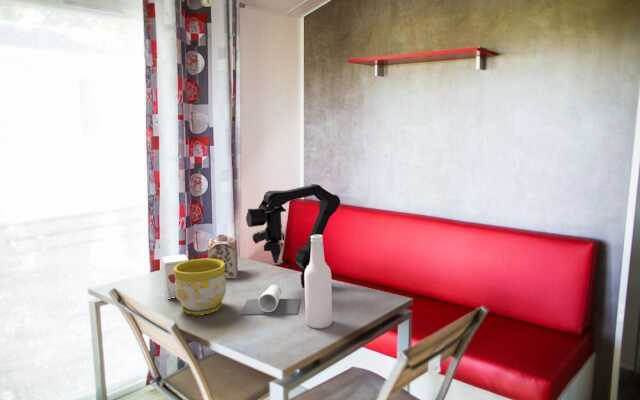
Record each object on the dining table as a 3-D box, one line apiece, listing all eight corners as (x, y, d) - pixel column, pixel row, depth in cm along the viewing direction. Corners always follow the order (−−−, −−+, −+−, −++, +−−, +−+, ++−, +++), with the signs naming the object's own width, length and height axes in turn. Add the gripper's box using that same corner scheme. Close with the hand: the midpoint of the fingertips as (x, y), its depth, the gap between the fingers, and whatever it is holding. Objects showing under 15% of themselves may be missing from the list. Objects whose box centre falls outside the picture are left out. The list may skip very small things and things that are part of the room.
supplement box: (167, 300, 188) (164, 262, 186) (164, 293, 196) (161, 256, 194) (191, 296, 192) (188, 259, 189) (187, 289, 200) (184, 253, 198)
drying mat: (300, 299, 185) (300, 298, 185) (297, 314, 171) (297, 313, 171) (247, 300, 186) (247, 299, 186) (240, 314, 172) (240, 313, 172)
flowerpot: (166, 315, 174) (162, 270, 171) (195, 297, 190) (192, 256, 188) (210, 321, 167) (207, 275, 165) (236, 302, 184) (234, 260, 181)
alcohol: (335, 327, 160) (333, 237, 155) (309, 331, 158) (307, 240, 153) (327, 316, 169) (325, 231, 164) (302, 320, 166) (300, 234, 161)
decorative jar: (212, 271, 223) (209, 233, 220) (238, 270, 224) (236, 231, 221) (209, 280, 211) (206, 239, 208) (236, 278, 212) (234, 238, 209)
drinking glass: (286, 286, 186) (280, 298, 171) (279, 302, 187) (273, 315, 172) (269, 279, 186) (262, 290, 172) (263, 295, 187) (255, 308, 172)
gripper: (256, 219, 199) (258, 256, 202) (249, 229, 181) (251, 270, 183) (284, 218, 199) (285, 255, 201) (279, 229, 180) (281, 270, 183)
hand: (275, 262), depth 192 cm, fingers closed
